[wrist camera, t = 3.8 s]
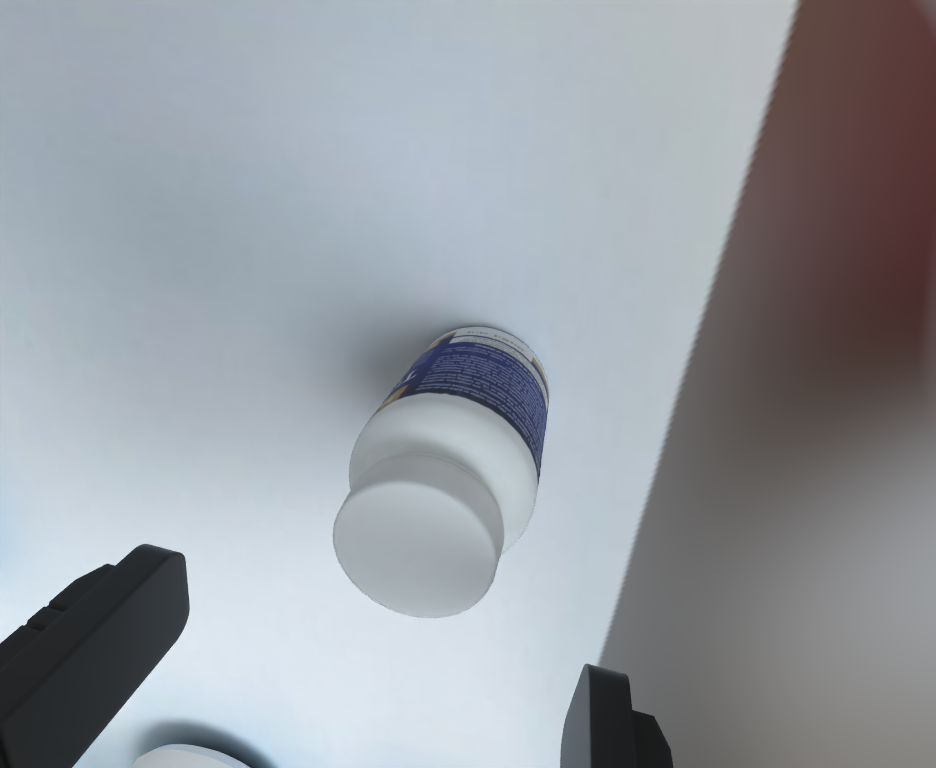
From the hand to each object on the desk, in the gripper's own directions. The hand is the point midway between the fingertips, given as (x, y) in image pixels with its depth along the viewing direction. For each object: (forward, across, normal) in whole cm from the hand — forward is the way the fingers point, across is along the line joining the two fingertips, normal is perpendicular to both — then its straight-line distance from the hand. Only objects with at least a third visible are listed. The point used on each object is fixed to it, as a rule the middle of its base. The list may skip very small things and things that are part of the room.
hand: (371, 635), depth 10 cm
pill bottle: (+12, 0, 0) cm, 12 cm away
